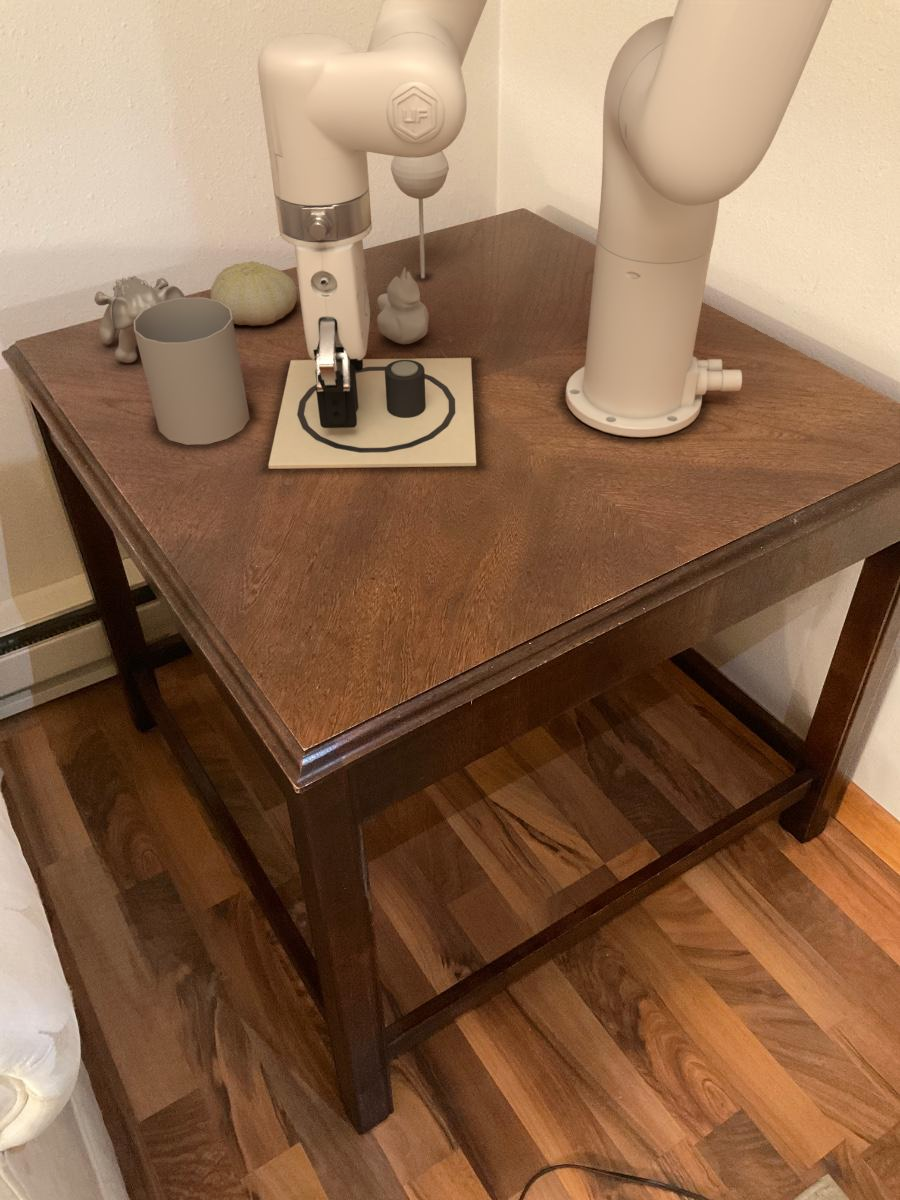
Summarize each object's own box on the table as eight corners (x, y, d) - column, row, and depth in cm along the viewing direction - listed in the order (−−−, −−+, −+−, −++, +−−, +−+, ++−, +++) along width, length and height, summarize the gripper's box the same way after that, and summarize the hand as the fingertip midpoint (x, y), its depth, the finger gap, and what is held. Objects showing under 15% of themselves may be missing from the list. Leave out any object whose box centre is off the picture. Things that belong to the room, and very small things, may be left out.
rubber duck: (401, 358, 99) (398, 282, 94) (362, 334, 103) (356, 260, 97) (442, 340, 102) (441, 266, 96) (402, 318, 105) (399, 245, 100)
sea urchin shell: (270, 265, 111) (286, 233, 103) (297, 331, 111) (315, 304, 104) (193, 285, 107) (203, 254, 100) (221, 353, 107) (233, 327, 100)
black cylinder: (425, 397, 93) (424, 357, 90) (425, 418, 90) (424, 378, 88) (387, 397, 93) (385, 358, 90) (386, 418, 91) (383, 378, 88)
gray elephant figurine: (157, 320, 106) (141, 251, 100) (232, 356, 100) (219, 284, 95) (84, 354, 100) (63, 283, 95) (159, 394, 95) (141, 320, 90)
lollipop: (458, 271, 114) (457, 134, 103) (436, 293, 110) (434, 153, 99) (409, 262, 115) (404, 127, 105) (387, 283, 112) (379, 144, 101)
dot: (359, 397, 93) (356, 358, 90) (357, 418, 91) (353, 378, 88) (321, 398, 93) (317, 358, 90) (318, 419, 91) (313, 379, 88)
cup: (229, 449, 88) (210, 347, 81) (143, 439, 89) (116, 338, 82) (261, 399, 94) (245, 301, 87) (180, 391, 95) (158, 293, 88)
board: (470, 361, 99) (471, 356, 98) (476, 466, 86) (476, 461, 85) (291, 363, 99) (290, 359, 98) (268, 469, 86) (268, 464, 85)
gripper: (364, 257, 73) (379, 449, 85) (375, 171, 86) (387, 349, 97) (263, 258, 73) (292, 451, 85) (289, 173, 86) (311, 351, 97)
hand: (342, 396), depth 91 cm, fingers open, 9 cm apart
